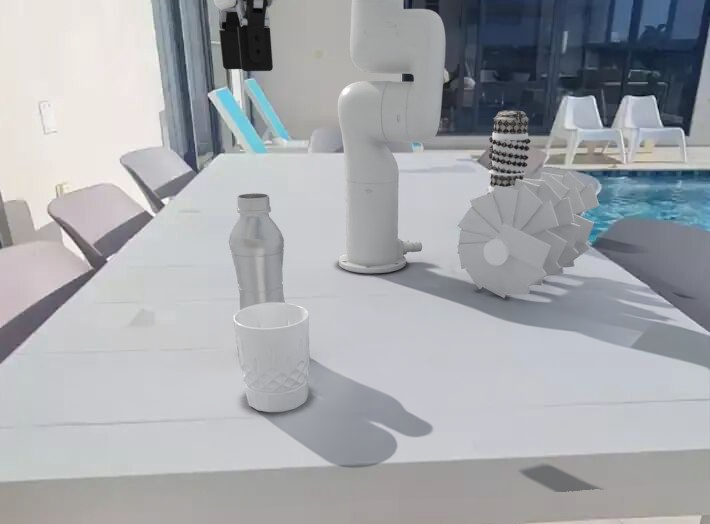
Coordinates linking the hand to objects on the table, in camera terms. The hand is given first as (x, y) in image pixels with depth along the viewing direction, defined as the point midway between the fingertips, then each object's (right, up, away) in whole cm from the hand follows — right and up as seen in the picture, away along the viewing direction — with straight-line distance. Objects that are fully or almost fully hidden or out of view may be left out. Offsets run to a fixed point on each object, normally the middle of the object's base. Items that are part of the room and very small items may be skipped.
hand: (246, 69), depth 70 cm
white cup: (+3, -36, +1) cm, 36 cm away
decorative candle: (+43, +1, +82) cm, 92 cm away
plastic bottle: (0, -31, +13) cm, 34 cm away
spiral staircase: (+39, -18, +41) cm, 59 cm away
